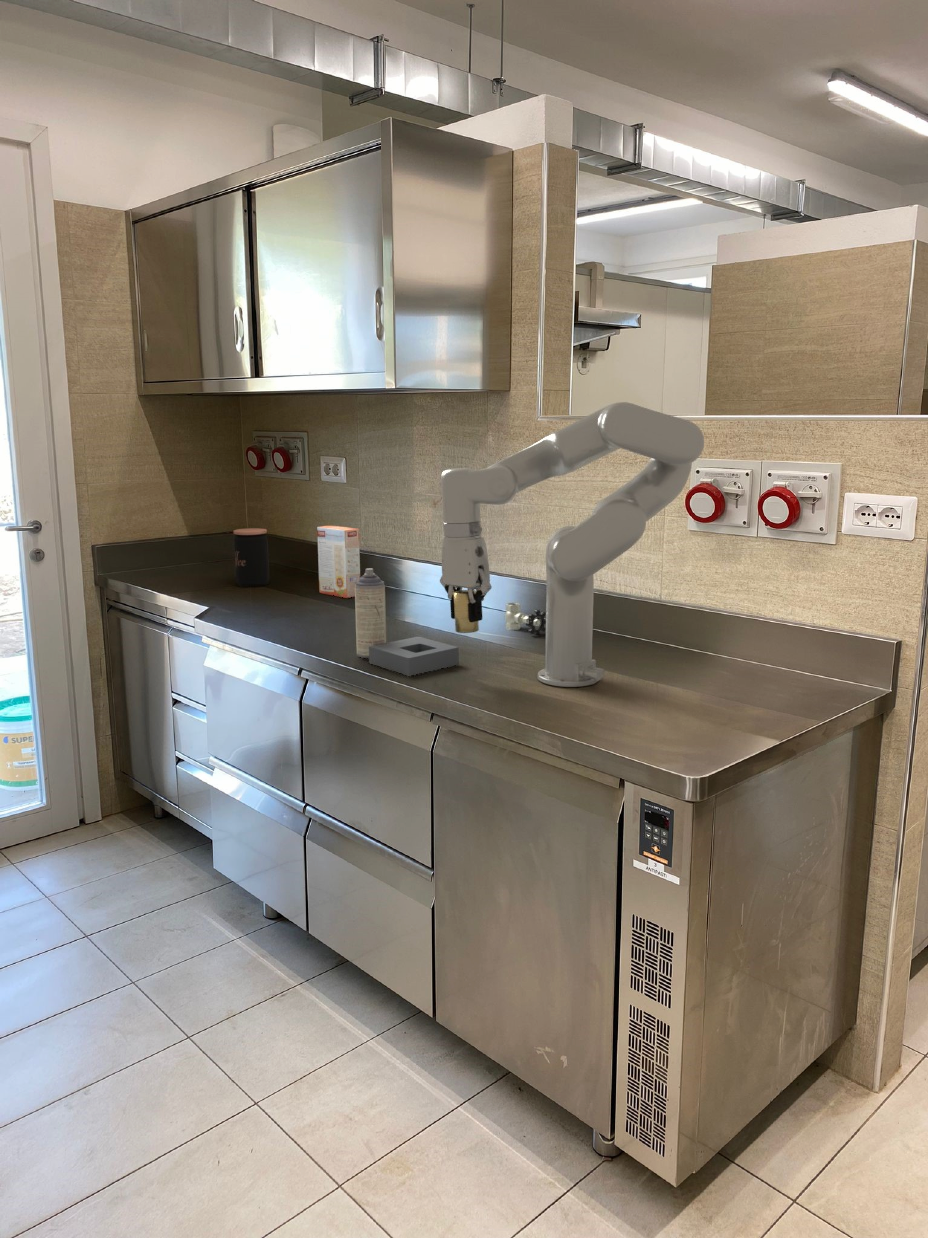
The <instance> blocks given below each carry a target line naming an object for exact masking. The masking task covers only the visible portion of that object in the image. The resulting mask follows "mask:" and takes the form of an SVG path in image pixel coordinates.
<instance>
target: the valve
mask: <svg viewBox="0 0 928 1238" xmlns="http://www.w3.org/2000/svg"><path fill="white" fill-rule="evenodd" d="M505 611H506V612H505V614H504V618H505V619H504V620H505V622H506V623H505V630H509V631H518V630H520V629H521V626H522V625H524V624H525V627H529V628H530V629H528V630H527V632H528V634H530V635H532V634H534V636H536V635H539V636H540V635H541V633H540V632H542V633H543V632H544V633H546V626H545V625H546V611H541V610H540V609H534V613H535V614H533V613H529V614H528V616H527V615H526V613H524V612H521V603H519V602H508V603H506V604H505ZM536 627H538V628H536ZM534 632H535V633H534Z"/></svg>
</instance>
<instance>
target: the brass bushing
mask: <svg viewBox="0 0 928 1238" xmlns="http://www.w3.org/2000/svg"><path fill="white" fill-rule="evenodd" d="M476 592H477V591H476V589H475V590H474V594H475V593H476ZM468 603H470V598H469V593H468V589H462V590H459V591H455V592H454V611H455V619H454V625H455V626H454V627H455V632H456V633H459V634H470V633H476V632H479V631H480V627H479V626H480V625H479V621H476V622H469V611H468Z"/></svg>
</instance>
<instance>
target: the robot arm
mask: <svg viewBox="0 0 928 1238" xmlns="http://www.w3.org/2000/svg"><path fill="white" fill-rule="evenodd" d="M704 447H705V437H704V433H703V432H702V430H701V428H700V427H699V426H698V425H697V424H695V423H694V422H692V421H690V420H687V419H684V418H680V417H676V416H674V415H670V414H667V413H663V412H659V411H656V410H653V409H650V408H646V407H644V406H641V405H638V404H634V403H631V402H628V401H626V402H625V401H623V402H621V401H619V402H615V403H611V404H608V405H606V406H604V407H602V408H600V409H598V410H597V411H593V412H592V413H591V414H589V415H586V416H583V418H580V419H579V420H578V419H577V420H576V421H575V422H572V423H571V424H568V425H567V426H565V427H562V428H561V429H558V430H556V431H554V432H553V433H550V434H548V435H546V436H544V437H543V438H542V439H540V440H539V441H537V442H535V443H533V444H532V445H530V446H528V447H526V448H524V449H522V450H520V451H517V452H516V453H513V454H512V455H510V456H507V457H506V458H503V459H501V460H499V461H497V462H495V463H493V464H491V465H490V466H488V467H487V468H482V469H474V468H472V467H471V468H470V467H459V468H457V467H455V468H448V469H445V470H443V471H442V473H441V475H440V487H441V488H440V489H441V505H442V522H443V523H442V524H443V538H442V546H441V577H440V579H439V583H440V585H442V587H443V588H444V590H445V592H446V594H447V599H449V601H450V604H449V605H450V618H451V619H452V620H455V611H454V592H455V591H459V590H463V588H464V589H465V588H466V590H468V593H469V598H470V603H468V611H469V622H476V621H478V622H479V621H482V620H483V603H482V602H484V601H485V597H486V596H487V594H488V593H489V592H490V591H491V590H492V587H493V586H492V585H491V582H490V581H491V575H490V564H489V563H490V562H489V555H488V550H487V545H486V542H485V541H486V540H485V538H484V537H482V532H483V528H482V526H481V525H482V523H481V522H482V521H481V504H482V505H483V504H484V505H492V506H493V505H494V506H501V505H505V504H508V503H510V502H511V501H512V500H513V499H514V498H515V496H516V494H518V493H520V492H521V491H524V490H526V489H528V488H529V487H532V486H534V485H536V484H538V483H540V482H543V481H546V480H548V479H551V478H556V477H560V476H565V475H567V474H570V473H573V472H575V471H577V470H579V469H581V468H582V467H583V468H584V467H585V466H587V465H589V464H591V463H593V462H595V461H597V460H599V459H601V458H604V457H606V456H608V455H609V454H611V453H613V452H615V451H618V450H619V449H621V450H625V451H628V452H630V453H634V454H637V455H640V456H644V457H646V458H650V459H649V462H648V463H647V464H646V466H645V467H644V468H643V469H642V470H641V471H640V472H639V473H638V474H637V475H634V477H632V478H631V479H630V480H629V481H628V482H626V483H625V484H623V485H622V486H621V487H619V488H618V489H616V490H614V491H613V492H612V493H610V494H609V495H607V496H606V497H604V498H603V499H601V500H600V501H599V502H598V503H596V505H595V507H594V508H593V510H592V513H591V515H590V516H588V517H587V518H585V519H584V520H583V521H581V522H580V523H579V524H577V525H575V526H574V525H566V526H563V527H560V528H559V529H557V530H556V531H554V532H553V533H552V534H551V535H550V537H549V539H548V541H547V544H546V548H545V567H546V568H545V571H546V572H545V573H546V575H545V576H546V579H545V580H546V596H545V598H546V600H545V601H546V605H545V613H546V616H545V619H546V624H545V628H546V630H545V657H544V658H545V667H544V668H543V669H540V670H539V671H538V672H537V680H538V681H540V682H541V683H543V684H546V685H550V686H554V687H563V688H564V687H565V688H577V687H587V686H591V685H594V684H596V683H598V681H600V680H601V679H602V677H603V676H604V675H605V671H606V670H605V669H604V668H600V667H597V665H596V664H597V660H596V659H593V658H592V657H593V629H594V628H593V623H594V587H595V586H594V585H595V584H594V574H597V572H599V571H600V570H602V569H603V568H605V567H606V566H608V565H609V564H610V563H612V562H613V561H614V560H616V559H617V558H618V557H620V556H621V555H623V554H624V553H625V552H627V551H629V549H631V548H633V546H634V545H635V544H637V543H638V541H639V540H640V539H641V538H642V537H643V535H644V533H645V530H646V526H647V522H648V521H649V520H650V519H652V518H654V517H655V516H656V515H657V514H659V512H661V511H662V510H664V509H665V508H666V507H667V506H669V504H671V503H672V502H674V500H675V499H676V498H678V496H679V495H680V494H681V492H682V491H683V490H684V488H685V486H686V484H687V481H688V480H689V477H690V475H691V474H690V472H691V469H692V464H693V463H694V462H695V461H696V460H698V458H700V456H701V455H702V453H703V450H704ZM474 590H476V591H477V592H476V593H475V594H474Z"/></svg>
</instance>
